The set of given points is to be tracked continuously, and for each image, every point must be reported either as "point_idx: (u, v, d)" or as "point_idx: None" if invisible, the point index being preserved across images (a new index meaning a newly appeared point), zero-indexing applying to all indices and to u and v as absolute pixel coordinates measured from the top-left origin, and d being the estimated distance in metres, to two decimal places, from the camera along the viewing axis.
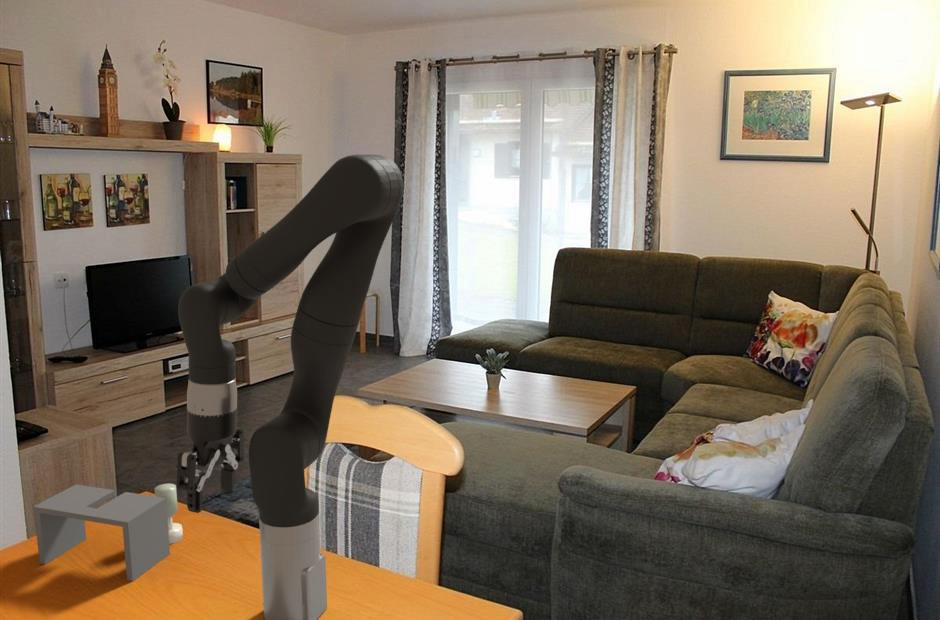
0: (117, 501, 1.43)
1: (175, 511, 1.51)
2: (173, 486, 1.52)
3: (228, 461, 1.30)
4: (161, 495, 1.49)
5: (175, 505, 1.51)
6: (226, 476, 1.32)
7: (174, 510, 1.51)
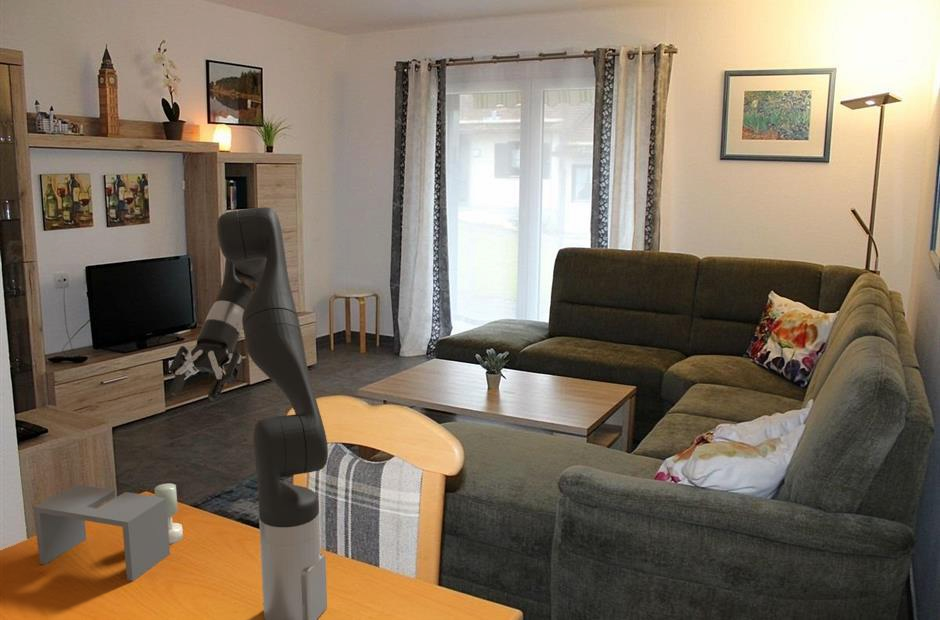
0: (117, 501, 1.43)
1: (175, 511, 1.51)
2: (173, 485, 1.52)
3: (214, 369, 1.59)
4: (161, 495, 1.49)
5: (175, 505, 1.51)
6: None
7: (174, 510, 1.51)
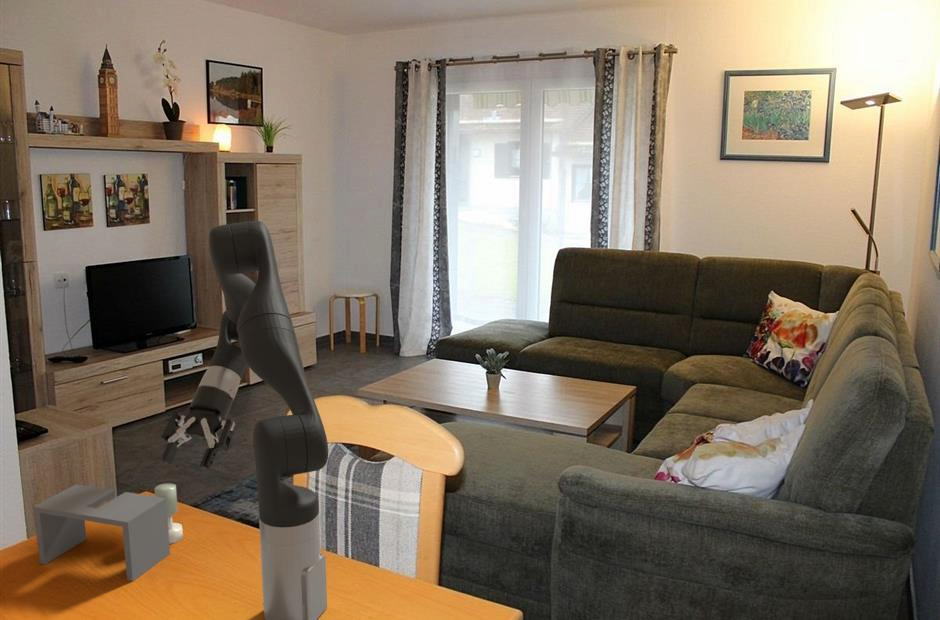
0: (117, 501, 1.43)
1: (175, 511, 1.51)
2: (173, 485, 1.52)
3: None
4: (161, 495, 1.49)
5: (175, 505, 1.51)
6: None
7: (174, 510, 1.51)
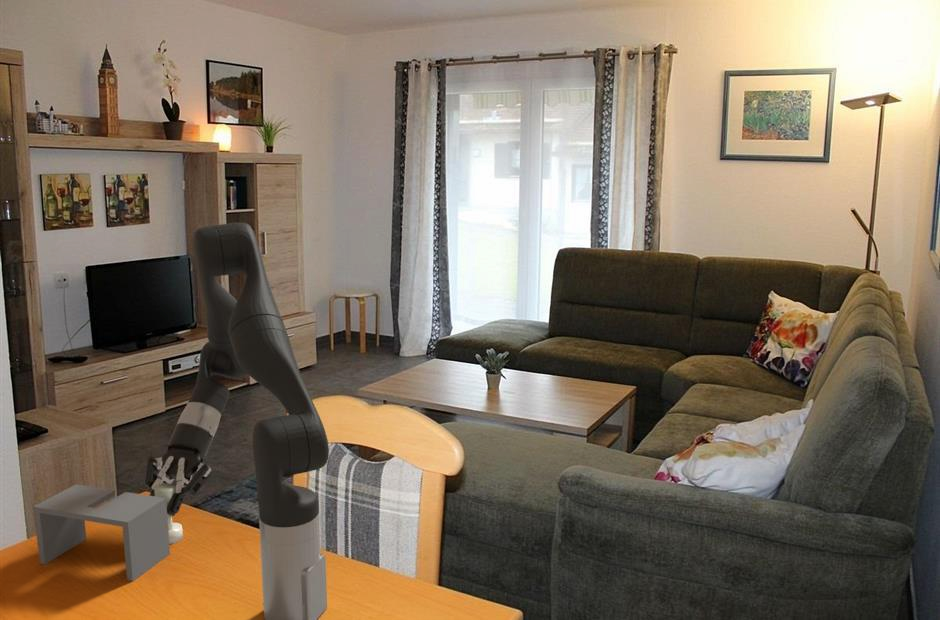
0: (117, 501, 1.43)
1: None
2: (173, 485, 1.51)
3: None
4: (161, 495, 1.49)
5: None
6: None
7: None
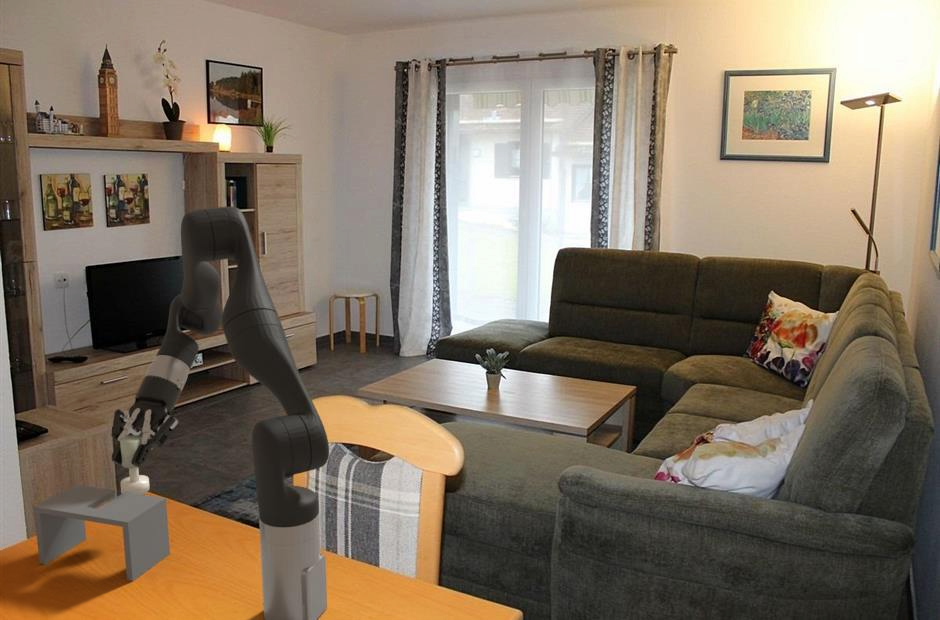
0: (117, 501, 1.43)
1: None
2: (139, 437, 1.50)
3: None
4: (126, 446, 1.48)
5: None
6: None
7: None
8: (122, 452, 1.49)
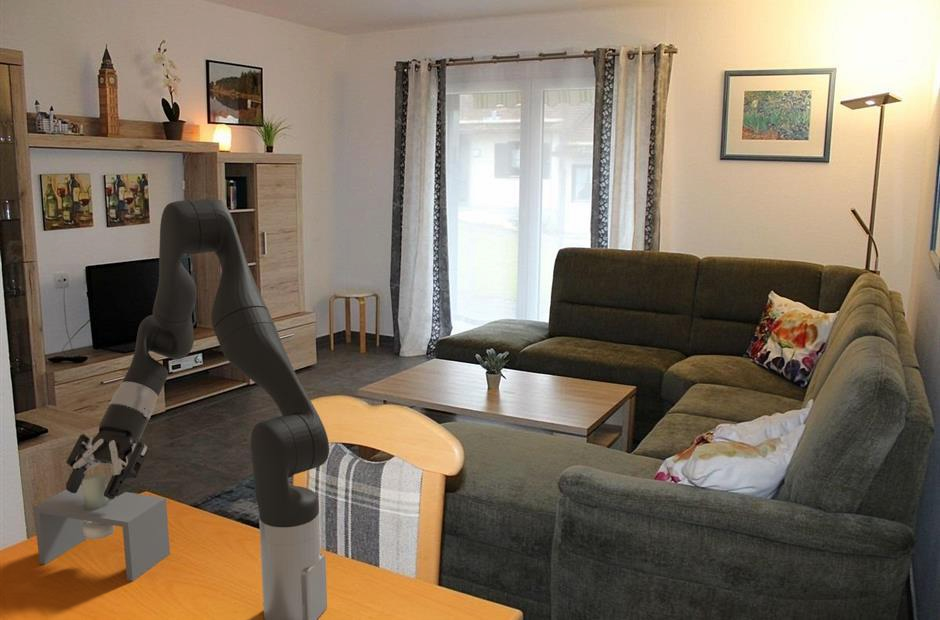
0: (117, 501, 1.43)
1: (105, 503, 1.41)
2: (103, 476, 1.42)
3: None
4: (89, 486, 1.39)
5: (105, 497, 1.41)
6: None
7: (104, 502, 1.41)
8: (84, 492, 1.40)
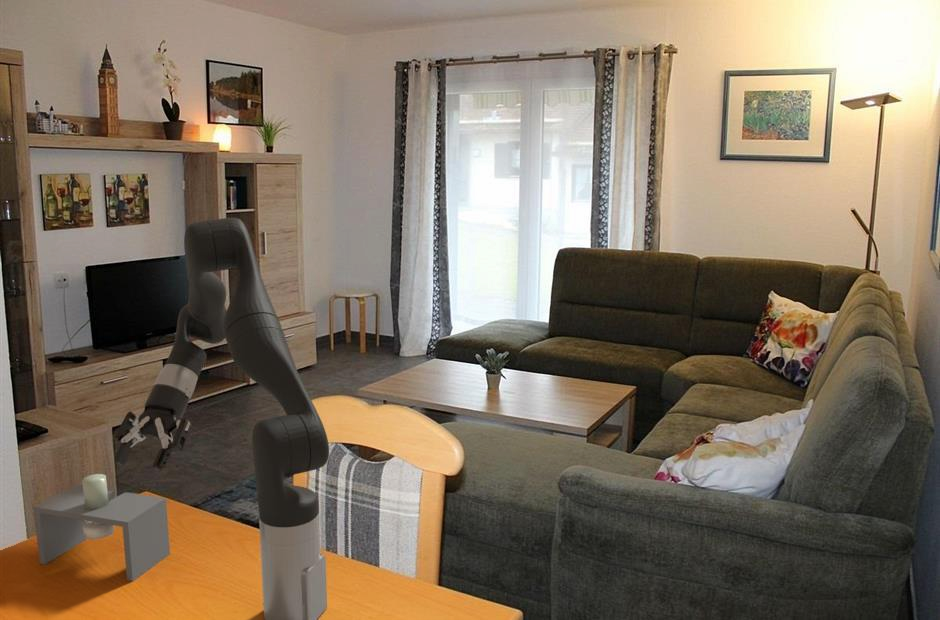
0: (117, 501, 1.43)
1: (105, 503, 1.41)
2: (103, 476, 1.42)
3: (160, 437, 1.53)
4: (89, 486, 1.39)
5: (105, 497, 1.41)
6: None
7: (104, 502, 1.41)
8: (84, 492, 1.40)
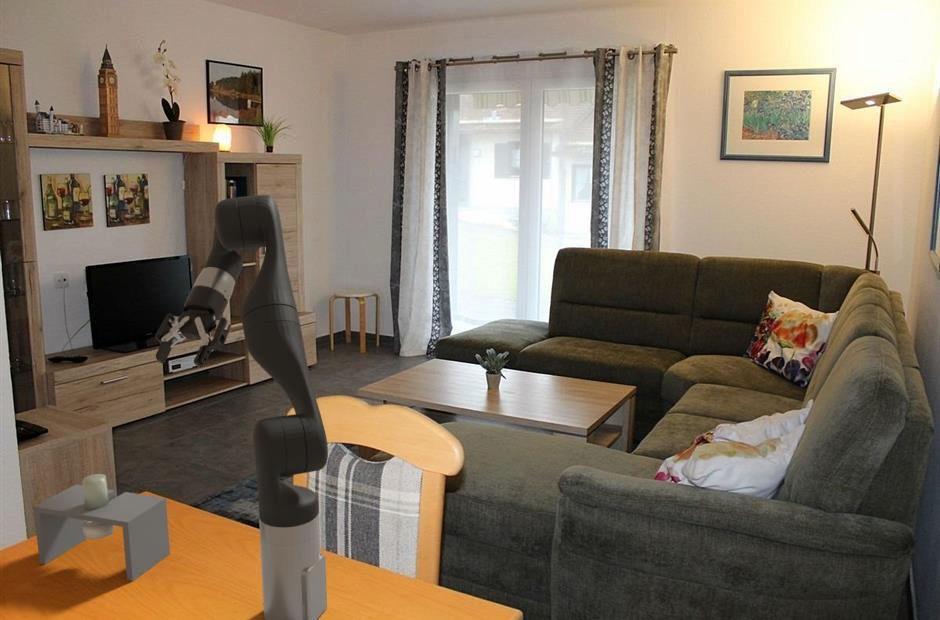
0: (117, 501, 1.43)
1: (105, 503, 1.41)
2: (103, 476, 1.42)
3: None
4: (89, 486, 1.39)
5: (105, 497, 1.41)
6: None
7: (104, 502, 1.41)
8: (84, 492, 1.40)
